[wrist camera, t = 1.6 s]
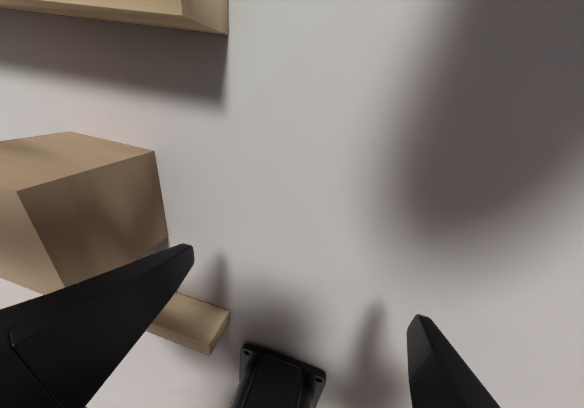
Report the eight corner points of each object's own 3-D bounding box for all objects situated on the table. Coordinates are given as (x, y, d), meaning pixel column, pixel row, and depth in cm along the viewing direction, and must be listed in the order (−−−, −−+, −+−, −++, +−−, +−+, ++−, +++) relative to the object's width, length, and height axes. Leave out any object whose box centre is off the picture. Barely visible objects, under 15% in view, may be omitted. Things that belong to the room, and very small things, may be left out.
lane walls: (229, 326, 17) (195, 387, 13) (-4, 242, 21) (-76, 272, 17) (227, -31, 7) (115, -136, 4) (-195, -59, 11) (-434, -124, 8)
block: (169, 235, 14) (74, 307, 10) (99, 214, 15) (-19, 270, 10) (155, 150, 12) (16, 191, 7) (71, 131, 13) (-102, 155, 8)
